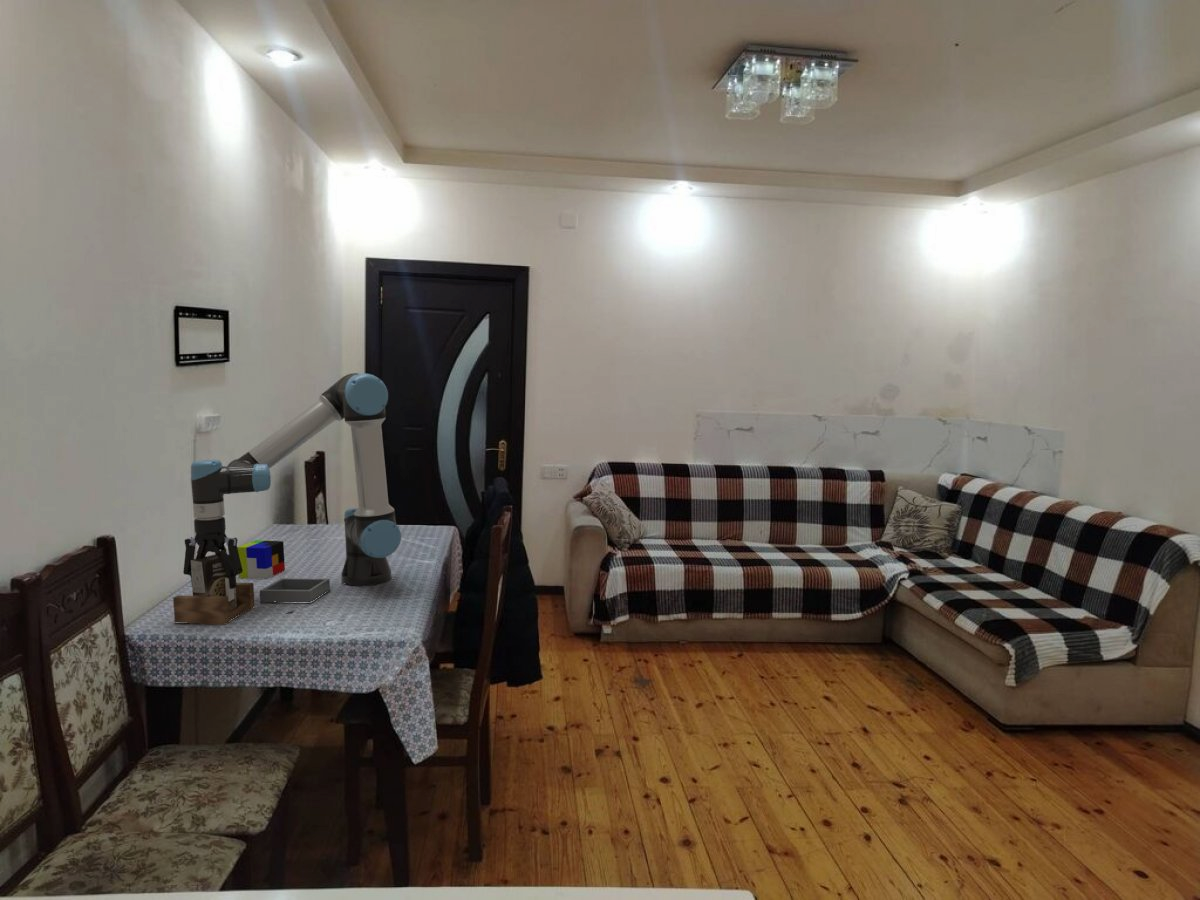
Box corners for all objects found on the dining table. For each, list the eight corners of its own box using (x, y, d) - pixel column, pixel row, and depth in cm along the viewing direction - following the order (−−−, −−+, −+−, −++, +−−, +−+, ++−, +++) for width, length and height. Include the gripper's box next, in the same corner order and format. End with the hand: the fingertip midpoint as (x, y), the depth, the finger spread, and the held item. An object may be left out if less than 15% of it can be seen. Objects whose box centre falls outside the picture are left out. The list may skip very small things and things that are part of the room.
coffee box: (208, 621, 215) (204, 562, 213) (193, 618, 218) (189, 559, 217) (238, 612, 223) (234, 554, 221) (223, 608, 226) (219, 552, 225)
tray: (330, 590, 243) (329, 578, 243) (310, 603, 230) (310, 591, 230) (282, 589, 244) (281, 578, 244) (260, 602, 232) (259, 590, 231)
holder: (254, 607, 228) (253, 582, 227) (225, 624, 213) (223, 598, 212) (207, 606, 229) (205, 582, 228) (174, 623, 214) (173, 597, 213)
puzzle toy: (266, 579, 257) (264, 548, 256) (238, 577, 259) (236, 547, 258) (285, 571, 267) (283, 541, 266) (257, 569, 269) (256, 540, 268)
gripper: (163, 520, 215) (170, 603, 218) (239, 520, 213) (244, 604, 216) (180, 514, 223) (186, 595, 225) (253, 515, 221) (258, 596, 223)
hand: (214, 599), depth 220 cm, fingers closed on coffee box, 8 cm apart
